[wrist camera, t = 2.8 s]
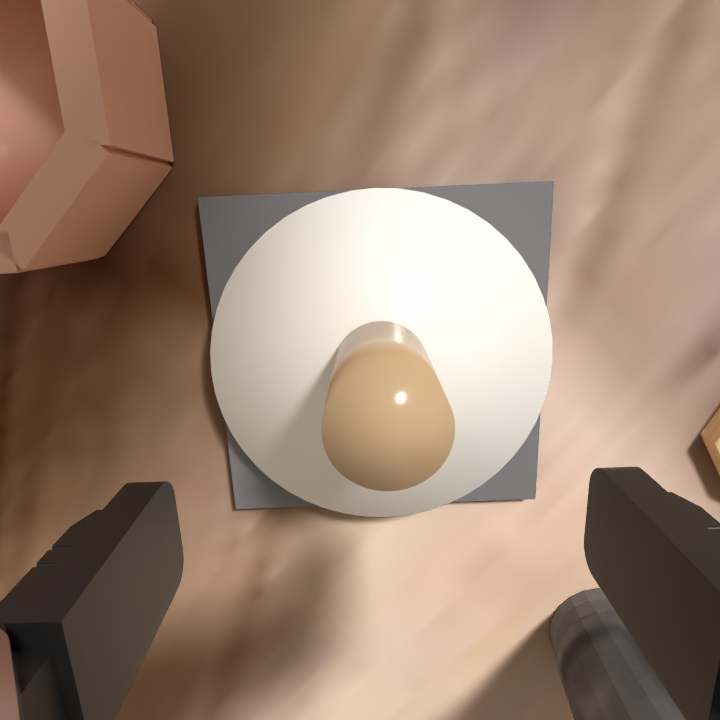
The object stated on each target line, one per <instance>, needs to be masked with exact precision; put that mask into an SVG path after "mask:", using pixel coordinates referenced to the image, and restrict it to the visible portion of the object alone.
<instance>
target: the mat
mask: <svg viewBox="0 0 720 720" xmlns="http://www.w3.org/2000/svg"><path fill="white" fill-rule="evenodd" d="M553 187H554V181H549V182H526V183H504V184H481V185H458V186H436V187H413V188H398V189H406V190H412V191H418V192H424V193H427V194H430V195H434V196H437V197H440V198H443V199H446V200H449V201H451V202H453V203H455V204H457V205H459V206H461V207H464V208H466V209H468V210H470V211H471V212H473V213H474V214H476V215H477V216H479V217H480V218H482V219H483V220H485V221H486V222H488V223H489V224H490V225H492V226H493V227H494V228H495V229H496V230H497V231H498V232H499V233H501V234H502V235H503V236H504V237H505V238H506V239H507V240H508V241H509V242H510V243H511V245H512V246H513V247H514V248H515V249H516V250H517V252H518V253H519V254H520V255H521V256H522V258H523V259H524V261H525V263H526V264H527V266H528V267H529V269H530V270H531V272H532V274H533V275H534V277H535V279H536V282H537V284H538V286H539V288H540V291H541V293H542V295H543V298H544V301H545V305H546V307H547V290H548V272H549V255H550V238H551V221H552V204H553ZM348 191H352V190H345V191H323V192H300V193H277V194H255V195H232V196H209V197H198V204H199V213H200V221H201V229H202V237H203V245H204V253H205V262H206V270H207V278H208V286H209V294H210V302H211V310H212V319H213V324H214V319H215V314H216V310H217V307H218V304H219V301H220V299H221V296H222V293H223V291H224V288H225V286H226V284H227V282H228V281H229V279H230V277H231V275H232V273H233V271H234V269H235V268H236V266H237V265H238V264H239V262H240V261H241V259H242V258H243V257H244V255H245V254H246V253H247V251H248V250H249V249H250V248H251V247H252V246H253V245H254V244H255V243H256V242H257V241H258V240H259V238H260V237H261V236H262V235H263V234H264V233H265V232H267V231H268V230H269V229H270V228H272V227H273V226H274V225H276V224H277V223H278V222H279V221H281V220H282V219H283V218H285V217H286V216H288V215H290V214H292V213H293V212H295V211H297V210H299V209H300V208H302V207H304V206H306V205H308V204H311V203H313V202H316V201H318V200H320V199H323V198H325V197H328V196H332V195H336V194H340V193H344V192H348ZM225 425H226V433H227V441H228V449H229V457H230V465H231V474H232V482H233V490H234V498H235V506H236V509H254V508H284V507H313V506H318V505H315V504H313V503H310V502H307V501H305V500H303V499H301V498H300V497H298V496H296V495H294V494H292V493H290V492H288V491H287V490H286V489H284V488H283V487H281V486H280V485H278V484H277V483H276V482H274V481H273V480H271V479H270V478H269V477H268V476H267V475H266V474H265V473H264V472H262V471H261V470H260V469H259V468H258V467H257V466H256V465H255V464H254V463H253V462H252V460H251V459H250V458H249V457H248V456H247V455H246V453H245V452H244V451H243V450H242V448H241V447H240V445H239V444H238V442H237V441H236V439H235V438H234V436H233V435H232V433H231V431H230V429H229V427H228V425H227V423H226V421H225ZM539 426H540V414H539V416H538V419H537V421H536V423H535V425H534V427H533V428H532V430H531V432H530V433H529V435H528V437H527V439H526V440H525V442H524V443H523V444H522V446H521V447H520V448H519V450H518V451H517V452H516V453H515V455H514V456H513V457H512V458H511V459H510V460H509V461H508V462H507V463H506V465H505V466H504V467H503V468H502V469H501V470H500V471H499V472H498V473H496V474H495V475H494V476H493V477H491V478H490V479H489V480H488V481H486V482H485V483H484V484H482V485H481V486H479V487H478V488H476V489H475V490H473V491H471V492H470V493H468V494H466V495H465V496H463V497H461V498H459V499H457V500H454V501H452V502H462V501H491V500H521V499H535V494H536V477H537V460H538V443H539Z"/></svg>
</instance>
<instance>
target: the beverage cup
mask: <svg viewBox="0 0 720 720" xmlns="http://www.w3.org/2000/svg"><path fill="white" fill-rule="evenodd" d="M549 634H550V640H551V643H552V646H553V648H554V651H555V656H556V659H557V664H558V670H559V673H560V676H561V680H562V683H563V686H564V689H565V692H566V695H567V698H568V701H569V704H570V707H571V710H572V713H573V717H574V720H686V719H685V718H684V716H683V714H682V713H681V711H680V710H679V708H678V707H677V705H676V704H675V702H674V701H673V699H672V698H671V696H670V694H669V693H668V691H667V690H666V688H665V687H664V685H663V684H662V682H661V681H660V679H659V678H658V676H657V674H656V673H655V671H654V670H653V668H652V667H651V665H650V664H649V662H648V661H647V659H646V658H645V656H644V654H643V653H642V651H641V650H640V648H639V647H638V645H637V644H636V642H635V641H634V639H633V637H632V636H631V634H630V633H629V631H628V630H627V628H626V627H625V625H624V624H623V622H622V621H621V619H620V617H619V616H618V614H617V613H616V611H615V610H614V608H613V607H612V605H611V604H610V602H609V601H608V599H607V597H606V596H605V594H604V593H603V591H602V590H601V588H598V589H592V590H587V591H583V592H580V593H578V594H576V595H574V596H572V597H570V598H569V599H567V600H566V601H565V602H564V603H563V604H561V605H560V606H559V607H558V609H557V610H556V612H555V613H554V615H553V617H552V619H551V623H550V627H549Z"/></svg>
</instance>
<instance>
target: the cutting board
mask: <svg viewBox="0 0 720 720" xmlns="http://www.w3.org/2000/svg"><path fill="white" fill-rule="evenodd" d="M701 436H702V438H703V441H704V443H705V445H706V447H707V449H708V452H709V454H710V456H711V458H712V460H713V463H714V465H715V467H716V469H717V472H718V474H719V476H720V407H719V409H718V410H717V411H716V413H715V414H714V416H713V417H712V418H711V420H710V421H709V423H708V424H707V425H706V427H705V428H704V430H703V431H702V432H701Z"/></svg>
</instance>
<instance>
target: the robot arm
mask: <svg viewBox="0 0 720 720" xmlns="http://www.w3.org/2000/svg"><path fill="white" fill-rule="evenodd" d="M584 550H585V556H586V561H587V564H588V567H589V570H590V572H591V574H592V576H593V577H594V579H595V581H596V582H597V584H598V585H599V587H600V588H601V590H602V591H603V593H604V594H605V596H606V597H607V599H608V601H609V602H610V604H611V605H612V607H613V608H614V610H615V611H616V613H617V614H618V616H619V617H620V619H621V621H622V622H623V624H624V625H625V627H626V628H627V630H628V631H629V633H630V634H631V636H632V637H633V639H634V641H635V642H636V644H637V645H638V647H639V648H640V650H641V651H642V653H643V654H644V656H645V658H646V659H647V661H648V662H649V664H650V665H651V667H652V668H653V670H654V671H655V673H656V674H657V676H658V678H659V679H660V681H661V682H662V684H663V685H664V687H665V688H666V690H667V691H668V693H669V694H670V696H671V698H672V699H673V701H674V702H675V704H676V705H677V707H678V708H679V710H680V711H681V713H682V714H683V716H684V718H685V719H686V720H720V523H719V522H718V521H717V520H716V519H714V518H713V517H712V516H711V515H710V514H708V513H707V512H706V511H705V510H704V509H703V508H701V507H700V506H698V505H696V504H694V503H692V502H690V501H688V500H686V499H684V498H682V497H680V496H678V495H676V494H674V493H672V492H667V491H666V490H665V489H663V488H662V487H661V486H660V485H659V484H658V483H657V482H656V481H655V480H653V479H652V478H651V477H650V476H649V475H648V474H647V473H646V472H644V471H643V470H642V469H641V468H639V467H615V468H596V469H595V470H593V472H592V474H591V477H590V483H589V493H588V504H587V514H586V525H585V535H584ZM182 572H183V547H182V541H181V534H180V527H179V521H178V514H177V507H176V500H175V494H174V490H173V487H172V485H171V484H170V483H169V482H167V481H166V482H136V483H127V484H125V485H124V486H123V487H122V488H121V490H120V491H119V492H118V493H117V494H116V495H115V496H114V498H113V499H112V500H111V501H110V502H109V503H108V505H107V506H106V507H105V508H104V509H103V510H96V511H94V512H93V513H91V514H90V515H88V516H87V517H85V518H83V519H82V520H80V521H79V522H77V523H76V524H74V525H72V526H71V527H70V528H69V529H68V530H67V531H66V532H65V533H64V534H63V535H62V536H61V537H60V538H59V540H58V541H57V542H56V543H55V544H54V545H53V546H52V550H48V551H47V552H46V554H45V555H44V556H43V557H42V558H41V559H40V560H39V561H38V562H37V566H36V567H33V568H32V569H31V570H30V571H29V572H28V573H27V574H26V575H25V576H24V577H23V578H22V579H21V581H20V582H19V583H18V584H17V585H16V586H15V587H14V588H13V589H12V590H11V591H10V592H9V593H8V595H7V596H6V597H5V598H4V599H3V600H2V601H1V602H0V720H114V719H115V717H116V715H117V713H118V711H119V709H120V707H121V705H122V703H123V700H124V698H125V696H126V694H127V692H128V690H129V688H130V686H131V684H132V682H133V680H134V678H135V676H136V674H137V672H138V670H139V668H140V665H141V663H142V661H143V659H144V657H145V655H146V653H147V651H148V649H149V647H150V645H151V643H152V641H153V639H154V637H155V635H156V632H157V630H158V628H159V626H160V624H161V622H162V620H163V618H164V616H165V614H166V612H167V610H168V608H169V606H170V604H171V602H172V600H173V597H174V595H175V593H176V591H177V589H178V587H179V584H180V581H181V577H182Z"/></svg>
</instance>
